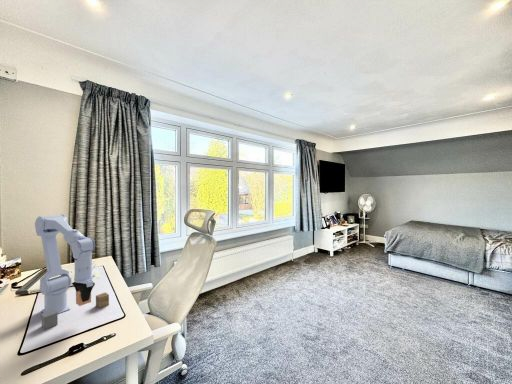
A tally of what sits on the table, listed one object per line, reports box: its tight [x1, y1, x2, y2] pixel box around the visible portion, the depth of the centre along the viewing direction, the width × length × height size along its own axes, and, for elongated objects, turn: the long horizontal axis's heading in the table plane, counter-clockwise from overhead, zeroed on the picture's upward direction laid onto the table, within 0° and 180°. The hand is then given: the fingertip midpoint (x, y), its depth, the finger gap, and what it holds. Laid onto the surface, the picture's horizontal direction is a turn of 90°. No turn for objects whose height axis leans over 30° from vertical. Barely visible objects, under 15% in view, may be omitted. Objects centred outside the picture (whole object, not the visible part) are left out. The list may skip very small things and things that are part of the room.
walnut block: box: [95, 292, 110, 309], centre depth 106 cm, size 4×4×5 cm
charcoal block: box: [41, 310, 59, 331], centre depth 90 cm, size 4×4×5 cm
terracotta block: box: [75, 290, 92, 307], centre depth 93 cm, size 4×4×5 cm
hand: (83, 299), depth 93 cm, fingers closed on terracotta block, 4 cm apart
